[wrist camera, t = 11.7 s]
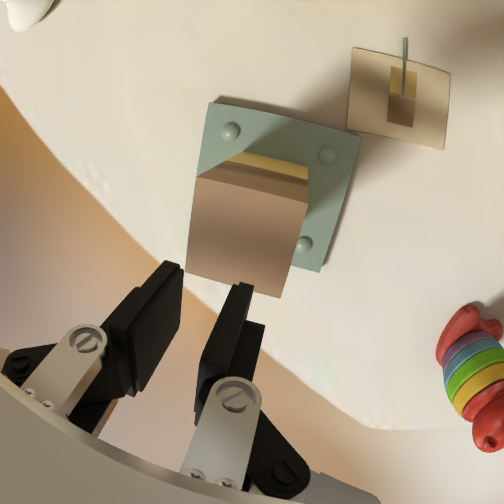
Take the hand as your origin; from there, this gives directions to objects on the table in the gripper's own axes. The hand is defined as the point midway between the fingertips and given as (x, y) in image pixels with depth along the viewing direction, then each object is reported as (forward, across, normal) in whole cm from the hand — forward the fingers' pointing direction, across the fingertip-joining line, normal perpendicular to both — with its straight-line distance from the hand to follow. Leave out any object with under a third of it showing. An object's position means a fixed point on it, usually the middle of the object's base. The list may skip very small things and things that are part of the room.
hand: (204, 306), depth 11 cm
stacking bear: (+19, -31, +12) cm, 38 cm away
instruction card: (+19, -10, -13) cm, 25 cm away
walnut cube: (+12, 0, 0) cm, 12 cm away
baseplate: (+19, 0, 0) cm, 19 cm away
